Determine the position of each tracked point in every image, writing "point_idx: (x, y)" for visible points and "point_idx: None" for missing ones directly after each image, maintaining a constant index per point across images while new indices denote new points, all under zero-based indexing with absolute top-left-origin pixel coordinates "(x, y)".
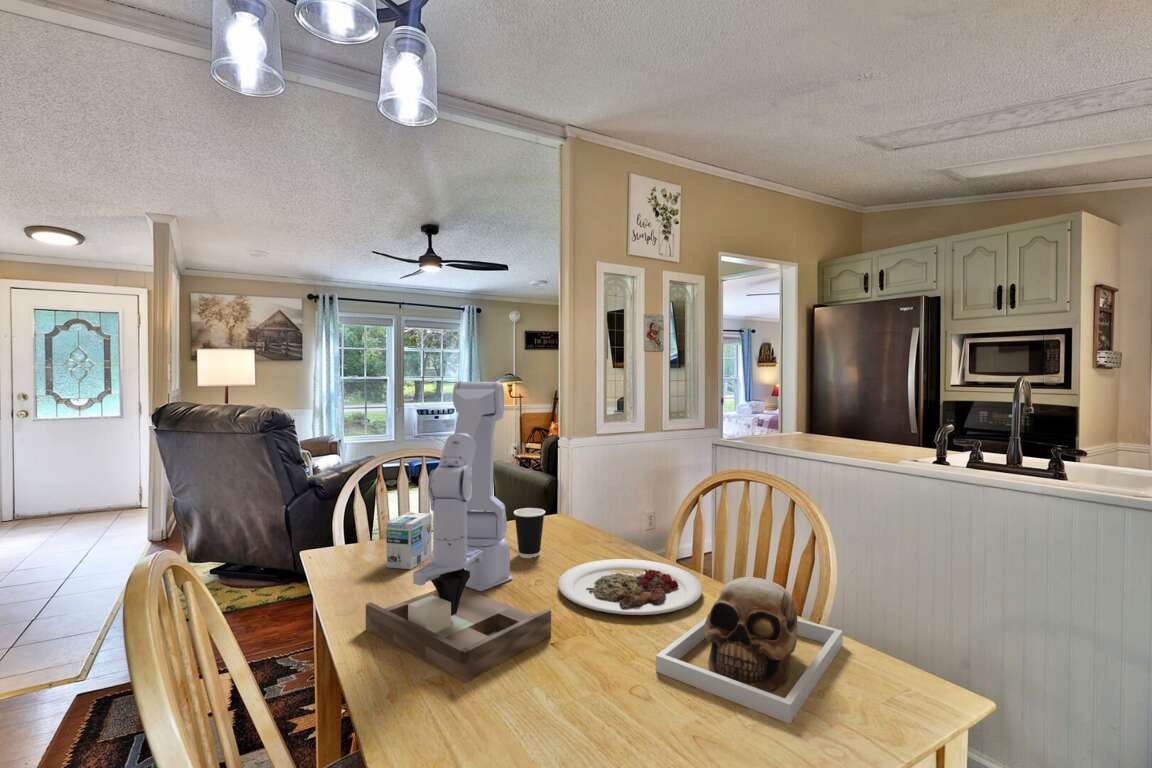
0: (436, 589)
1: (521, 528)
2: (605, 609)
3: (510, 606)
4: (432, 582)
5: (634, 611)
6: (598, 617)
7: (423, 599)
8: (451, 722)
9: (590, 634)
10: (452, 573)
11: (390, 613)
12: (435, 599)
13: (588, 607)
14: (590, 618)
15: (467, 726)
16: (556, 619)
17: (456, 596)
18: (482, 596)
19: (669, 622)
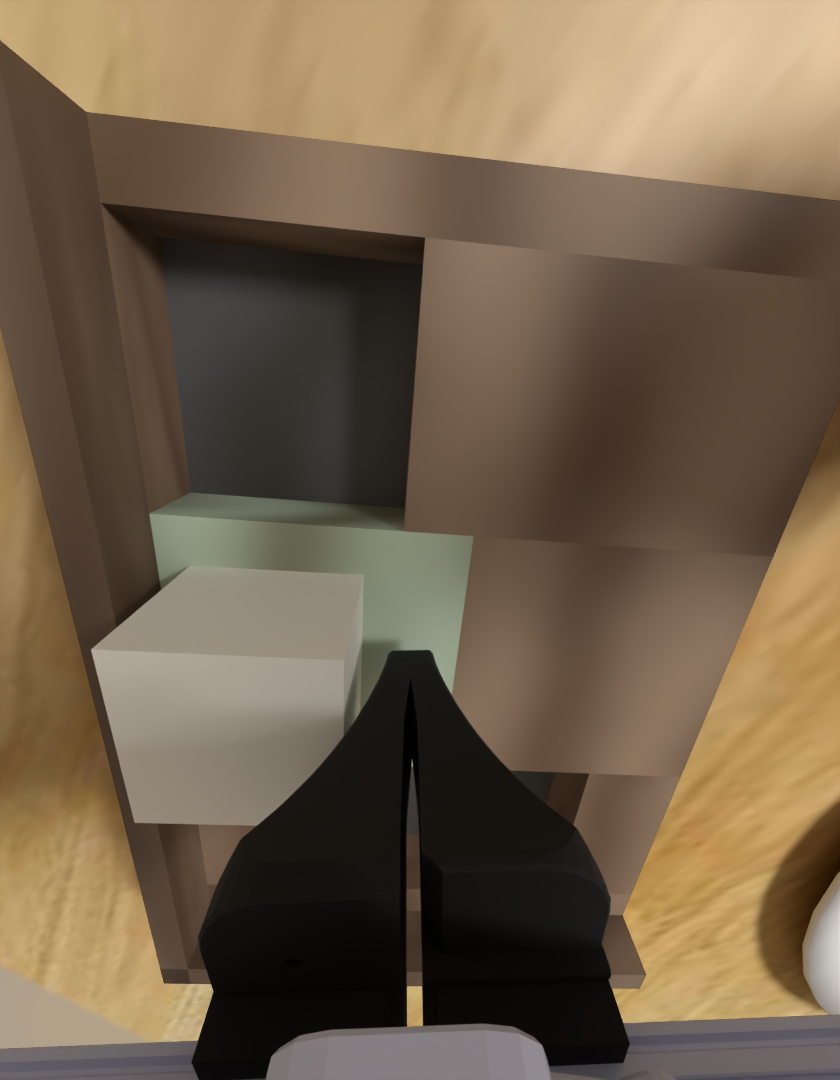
0: (325, 761)
1: None
2: (818, 940)
3: (682, 768)
4: (273, 813)
5: (836, 979)
6: (786, 895)
7: (238, 669)
8: (90, 925)
9: (657, 926)
10: (428, 1024)
11: (64, 464)
12: (303, 732)
13: (824, 897)
14: (769, 884)
15: (113, 950)
16: (721, 822)
17: (418, 818)
18: (752, 587)
19: (813, 1006)
